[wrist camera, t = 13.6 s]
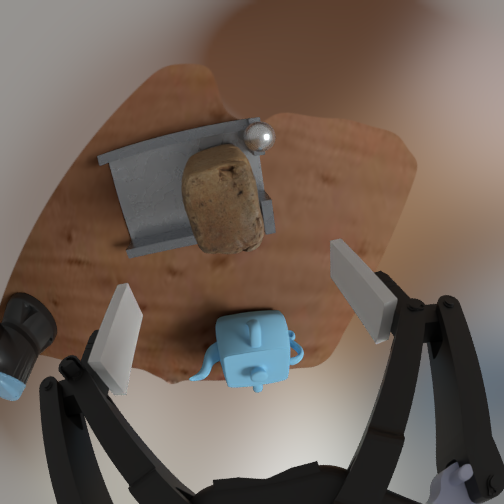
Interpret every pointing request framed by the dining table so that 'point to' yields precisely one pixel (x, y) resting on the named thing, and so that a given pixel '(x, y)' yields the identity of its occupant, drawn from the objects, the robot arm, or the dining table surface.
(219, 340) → the teapot
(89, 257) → the dining table surface
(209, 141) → the dock
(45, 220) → the dining table surface
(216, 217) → the brown blocky piece
